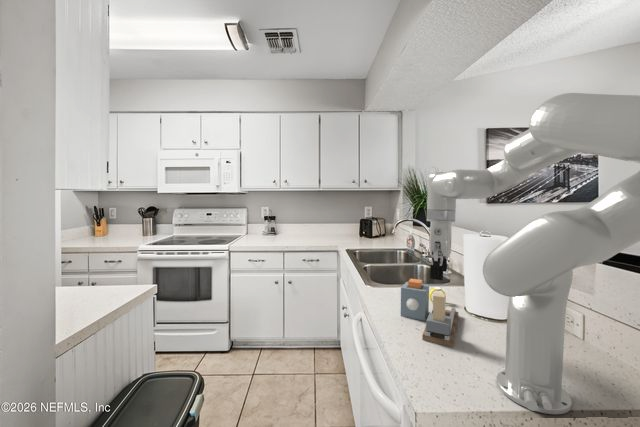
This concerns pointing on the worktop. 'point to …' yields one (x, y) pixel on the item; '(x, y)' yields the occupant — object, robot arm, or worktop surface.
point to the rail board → (443, 338)
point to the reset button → (415, 283)
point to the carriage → (438, 316)
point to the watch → (435, 290)
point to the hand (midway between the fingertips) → (438, 274)
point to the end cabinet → (415, 302)
